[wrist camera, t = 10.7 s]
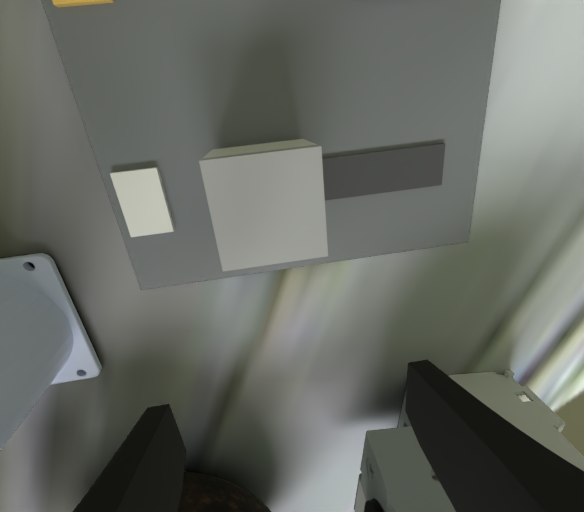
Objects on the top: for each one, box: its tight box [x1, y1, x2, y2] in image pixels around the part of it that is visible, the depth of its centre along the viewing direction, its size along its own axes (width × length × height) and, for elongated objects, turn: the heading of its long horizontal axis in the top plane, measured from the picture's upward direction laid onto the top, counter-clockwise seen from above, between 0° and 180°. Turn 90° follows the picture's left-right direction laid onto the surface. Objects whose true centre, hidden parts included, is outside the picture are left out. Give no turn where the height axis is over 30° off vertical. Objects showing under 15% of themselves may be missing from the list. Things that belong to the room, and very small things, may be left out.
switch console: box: [41, 0, 501, 290], centre depth 14 cm, size 18×18×1 cm
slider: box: [199, 139, 328, 271], centre depth 13 cm, size 4×4×4 cm
